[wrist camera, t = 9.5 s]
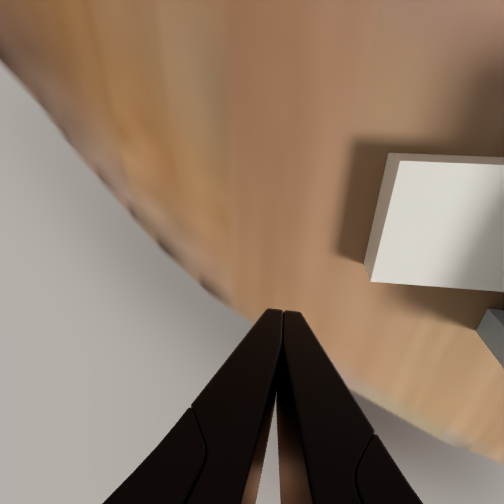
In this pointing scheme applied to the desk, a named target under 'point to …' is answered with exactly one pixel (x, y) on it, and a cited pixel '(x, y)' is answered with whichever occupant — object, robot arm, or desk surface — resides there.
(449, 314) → the desk surface
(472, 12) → the desk surface
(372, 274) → the tile
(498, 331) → the overhang
